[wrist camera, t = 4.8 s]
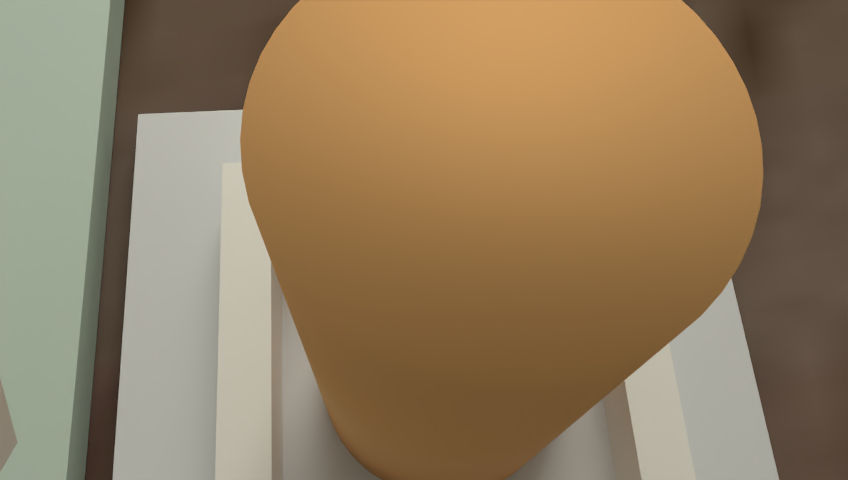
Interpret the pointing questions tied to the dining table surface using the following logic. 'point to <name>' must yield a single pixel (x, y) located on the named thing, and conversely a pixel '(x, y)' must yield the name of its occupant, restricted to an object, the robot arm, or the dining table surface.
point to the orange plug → (493, 210)
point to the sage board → (53, 221)
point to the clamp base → (293, 377)
